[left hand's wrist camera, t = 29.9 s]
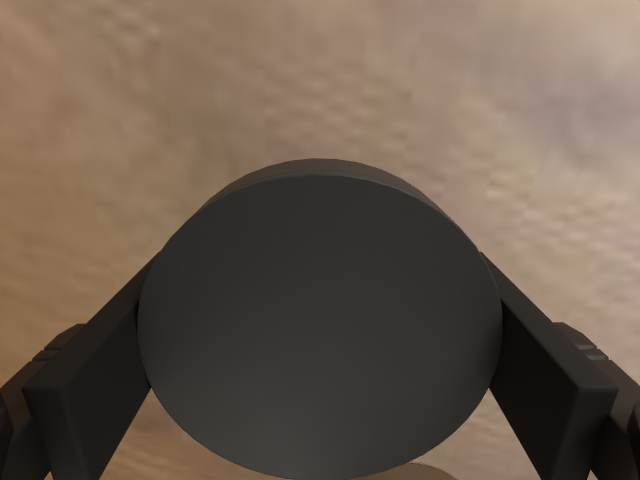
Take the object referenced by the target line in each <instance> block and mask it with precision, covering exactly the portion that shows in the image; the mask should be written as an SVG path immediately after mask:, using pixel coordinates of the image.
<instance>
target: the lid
mask: <svg viewBox="0 0 640 480" xmlns="http://www.w3.org/2000/svg"><path fill="white" fill-rule="evenodd" d="M137 338H138V344H139V349H140V354H141V359H142V363H143V367H144V371H145V374H146V377H147V379H148V381H149V383H150V385H151V387H152V389H153V391H154V393H155V395H156V397H157V398H158V400H159V401H160V403H161V404H162V406H163V407H164V409H165V410H166V411H167V413H168V414H169V415H170V416H171V417H172V418H173V419H174V421H175V422H176V423H177V424H178V425H179V426H180V427H181V428H182V429H183V430H184V431H185V432H187V433H188V434H189V435H190V436H191V437H192V438H193V439H194V440H196V441H197V442H199V443H200V444H202V445H203V446H204V447H206V448H207V449H209V450H210V451H212V452H214V453H215V454H217V455H219V456H221V457H223V458H225V459H226V460H228V461H230V462H233V463H235V464H238V465H240V466H242V467H245V468H247V469H250V470H254V471H257V472H260V473H263V474H267V475H271V476H276V477H281V478H286V479H295V480H347V479H353V478H359V477H365V476H369V475H373V474H377V473H380V472H384V471H387V470H390V469H392V468H395V467H398V466H401V465H403V464H405V463H407V462H409V461H411V460H414V459H416V458H418V457H420V456H422V455H423V454H425V453H426V452H428V451H430V450H431V449H433V448H434V447H436V446H437V445H439V444H440V443H441V442H443V441H444V440H445V439H446V438H448V437H449V436H450V435H451V434H453V433H454V432H455V431H456V430H457V429H458V428H459V427H460V426H461V425H462V424H463V423H464V422H465V421H466V420H467V419H468V418H469V416H470V415H471V414H472V412H473V411H474V410H475V409H476V407H477V406H478V405H479V403H480V402H481V400H482V398H483V397H484V395H485V393H486V391H487V390H488V388H489V386H490V384H491V381H492V379H493V376H494V374H495V371H496V369H497V365H498V360H499V355H500V351H501V346H502V338H503V317H502V306H501V302H500V298H499V294H498V289H497V286H496V283H495V281H494V278H493V276H492V274H491V271H490V269H489V267H488V265H487V263H486V261H485V260H484V258H483V257H482V255H481V253H480V252H479V250H478V249H477V247H476V246H475V244H474V243H473V242H472V241H471V240H470V239H469V237H468V236H467V235H466V234H465V233H464V232H463V230H462V229H461V228H460V227H459V226H458V225H457V224H456V223H455V222H454V221H453V220H452V219H451V218H449V217H448V216H447V215H446V214H445V213H444V212H443V211H442V210H441V209H440V208H439V207H438V206H437V205H436V204H435V203H434V202H433V201H431V200H430V199H429V198H428V197H427V196H426V195H424V194H423V193H422V192H421V191H420V190H418V189H417V188H415V187H413V186H412V185H410V184H409V183H407V182H406V181H404V180H403V179H401V178H399V177H396V176H394V175H392V174H390V173H388V172H386V171H383V170H381V169H378V168H375V167H371V166H368V165H365V164H361V163H357V162H351V161H345V160H338V159H304V160H295V161H288V162H284V163H280V164H275V165H271V166H267V167H265V168H262V169H260V170H257V171H255V172H252V173H250V174H247V175H245V176H243V177H242V178H240V179H238V180H236V181H234V182H233V183H231V184H229V185H227V186H226V187H225V188H223V189H222V190H221V191H219V192H218V193H217V194H216V195H214V196H213V197H212V198H210V199H209V200H208V201H207V202H206V203H205V204H204V205H203V206H202V207H201V208H200V209H199V210H198V211H197V212H196V213H195V214H194V215H193V216H192V217H191V218H189V219H188V220H187V221H186V222H185V223H184V224H183V225H182V226H181V228H180V229H179V230H178V231H177V232H176V233H175V234H174V235H173V236H172V237H171V238H170V239H169V240H168V242H167V243H166V245H165V246H164V247H163V249H162V250H161V252H160V253H159V254H158V256H157V257H156V259H155V261H154V263H153V265H152V267H151V269H150V271H149V273H148V275H147V277H146V280H145V283H144V286H143V290H142V293H141V296H140V301H139V308H138V315H137Z"/></svg>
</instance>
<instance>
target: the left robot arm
mask: <svg viewBox="0 0 640 480" xmlns="http://www.w3.org/2000/svg"><path fill="white" fill-rule="evenodd" d="M159 253H160V252H158V253H157V254H156V255H155V256H154V257H153V258H152V259H151V260H150V261H149V262H148V263H147V264H146V265H145V266H144V267H143V268H142V269H141V270H140V271H139V272H138V273H137V274H136V275H135V276H134V277H133V278H132V279H131V280H130V281H129V282H128V283H127V284H126V285H125V286H124V287H123V288H122V289H121V290H120V291H119V292H118V293H117V294H116V295H115V296H114V297H113V298H112V299H111V300H110V301H109V302H108V303H107V304H106V305H105V306H104V307H103V308H102V309H101V310H100V311H99V312H98V313H97V314H96V315H95V316H94V317H93V318H92V319H91V320H89V321H88V322H87V323H86V324H76V325H75V326H73V327H71V328H69V329H67V330H66V331H64V332H62V333H60V334H59V335H57V336H56V337H55V338H54V339H53V340H52V341H51V342H50V343H49V344H48V345H47V346H46V347H44V350H41V351H40V352H39V353H38V354H37V355H36V356H35V357H34V358H33V359H32V361H29V362H28V363H27V364H26V365H25V366H24V367H23V368H22V369H21V370H20V371H18V372H17V373H16V374H15V375H14V376H13V377H12V378H11V379H10V380H9V381H8V382H7V383H5V384H4V385H3V386H2V387H1V388H0V480H44V479H45V477H46V476H47V474H48V473H49V472H50V471H51V474H52V477H53V480H99V478H100V477H101V475H102V473H103V471H104V470H105V468H106V466H107V464H108V463H109V461H110V459H111V457H112V456H113V454H114V452H115V450H116V449H117V447H118V445H119V443H120V442H121V440H122V438H123V436H124V435H125V433H126V431H127V429H128V428H129V426H130V424H131V422H132V421H133V419H134V417H135V415H136V414H137V412H138V410H139V408H140V407H141V405H142V403H143V401H144V400H145V398H146V396H147V394H148V393H149V391H150V389H151V385H150V383H149V381H148V379H147V377H146V374H145V371H144V367H143V363H142V359H141V354H140V349H139V344H138V338H137V315H138V308H139V301H140V296H141V293H142V290H143V286H144V283H145V280H146V277H147V275H148V273H149V271H150V269H151V267H152V265H153V263H154V261H155V259H156V257H157V256H158V254H159ZM480 253H481V255H482V257H483V258H484V260H485V261H486V263H487V265H488V267H489V269H490V271H491V274H492V276H493V278H494V281H495V283H496V286H497V289H498V294H499V298H500V302H501V306H502V317H503V338H502V346H501V351H500V355H499V360H498V365H497V369H496V371H495V374H494V376H493V379H492V381H491V384H490V386H489V389H490V391H491V392H492V394H493V396H494V398H495V399H496V401H497V403H498V405H499V406H500V408H501V410H502V412H503V413H504V415H505V417H506V419H507V420H508V422H509V424H510V426H511V427H512V429H513V431H514V432H515V434H516V436H517V438H518V439H519V441H520V443H521V445H522V446H523V448H524V450H525V452H526V453H527V455H528V457H529V459H530V460H531V462H532V464H533V466H534V467H535V469H536V471H537V473H538V474H539V476H540V478H541V480H587V478H588V475H589V472H590V469H591V470H592V472H593V473H594V475H595V476H596V477H597V479H598V480H640V386H639V385H638V384H637V383H636V382H635V381H634V380H633V379H632V378H630V377H629V376H628V375H627V374H626V373H625V372H624V371H623V370H622V369H621V368H620V367H618V366H617V365H616V364H615V363H614V362H613V361H612V360H609V359H608V356H606V355H605V354H604V353H603V352H602V351H601V350H600V349H597V346H596V345H594V344H593V343H592V342H591V341H590V340H589V339H588V338H587V337H586V336H585V335H584V334H582V333H581V332H579V331H577V330H575V329H574V328H572V327H570V326H568V325H567V324H565V323H563V322H552V321H551V320H550V319H549V318H548V317H547V316H546V315H545V314H544V313H543V312H542V311H541V310H540V309H539V308H538V307H537V306H536V305H535V304H534V303H533V302H532V301H531V300H530V299H528V298H527V297H526V296H525V295H524V294H523V293H522V292H521V291H520V290H519V289H518V288H517V287H516V286H515V285H514V284H513V283H512V282H511V281H510V280H509V279H508V278H507V277H506V276H505V275H504V274H503V273H502V272H501V271H500V270H499V269H498V268H497V267H496V266H495V265H494V264H493V263H492V262H491V261H490V260H489V259H488V258H487V257H486V256H485V255H484V254H483V253H482V252H480Z"/></svg>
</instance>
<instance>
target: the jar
mask: <svg viewBox="0 0 640 480" xmlns="http://www.w3.org/2000/svg"><path fill="white" fill-rule="evenodd" d="M347 480H456V479H455V478H454V477H452V476H451V475H449V474H448V473H446V472H443V471H441V470H439V469H436V468H433V467H430V466H426V465H421V464H413V463H405V464H403V465H401V466H398V467H395V468H392V469H390V470H387V471H384V472H380V473H377V474H373V475H369V476H365V477H359V478H353V479H347Z"/></svg>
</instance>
